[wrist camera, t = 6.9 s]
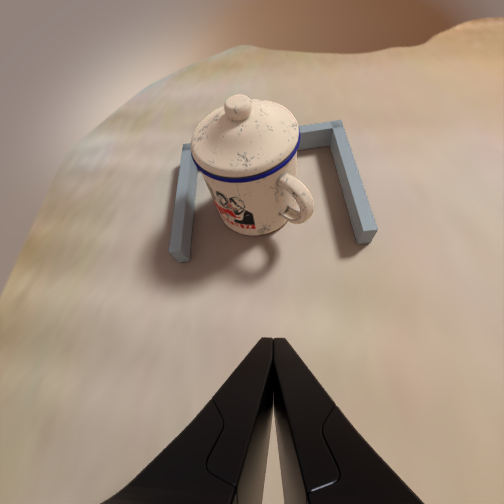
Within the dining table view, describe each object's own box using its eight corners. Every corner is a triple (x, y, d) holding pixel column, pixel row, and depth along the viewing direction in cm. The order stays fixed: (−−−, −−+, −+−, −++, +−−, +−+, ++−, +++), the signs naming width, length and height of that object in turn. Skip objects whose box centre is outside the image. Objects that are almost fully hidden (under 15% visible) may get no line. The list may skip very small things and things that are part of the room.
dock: (370, 243, 23) (377, 229, 21) (178, 262, 25) (168, 251, 23) (337, 137, 30) (341, 119, 28) (190, 159, 33) (183, 144, 30)
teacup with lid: (202, 207, 28) (152, 110, 18) (259, 163, 30) (242, 53, 20) (274, 274, 23) (261, 192, 13) (337, 216, 25) (368, 105, 15)
